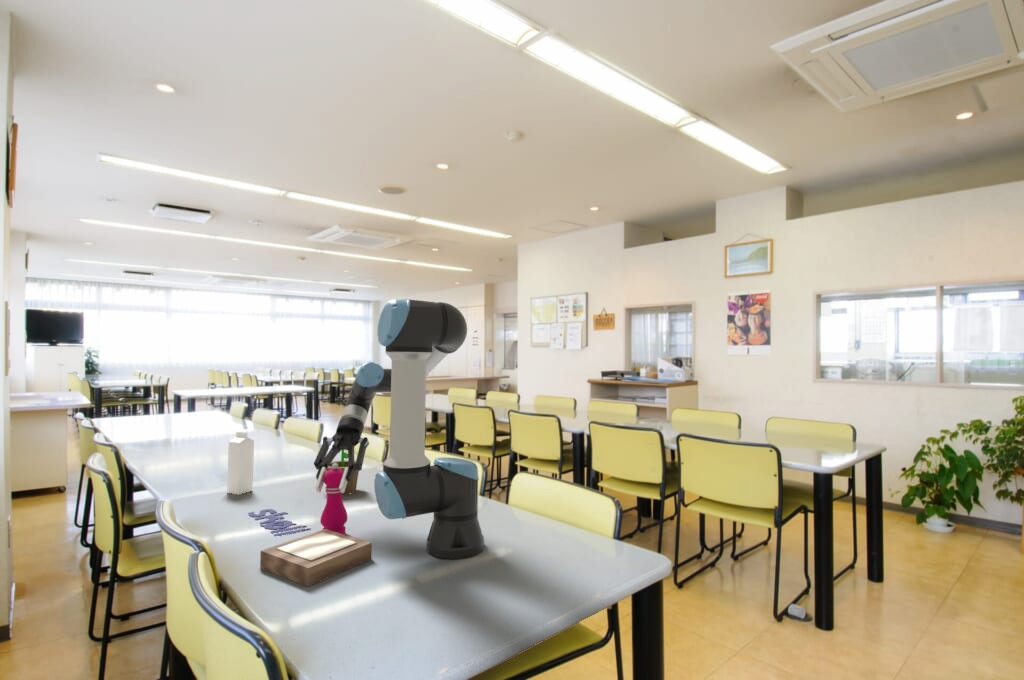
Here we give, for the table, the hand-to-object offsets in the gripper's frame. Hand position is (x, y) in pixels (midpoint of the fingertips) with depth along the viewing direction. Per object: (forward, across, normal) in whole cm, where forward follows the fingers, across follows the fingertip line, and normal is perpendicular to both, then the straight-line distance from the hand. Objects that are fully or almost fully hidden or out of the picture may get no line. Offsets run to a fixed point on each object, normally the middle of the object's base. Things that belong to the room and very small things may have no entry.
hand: (329, 490), depth 136 cm
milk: (-22, +52, -42) cm, 70 cm away
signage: (0, +22, -20) cm, 29 cm away
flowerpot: (-24, +15, -44) cm, 52 cm away
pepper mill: (+7, 0, -12) cm, 14 cm away
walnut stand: (+21, -4, +2) cm, 21 cm away
